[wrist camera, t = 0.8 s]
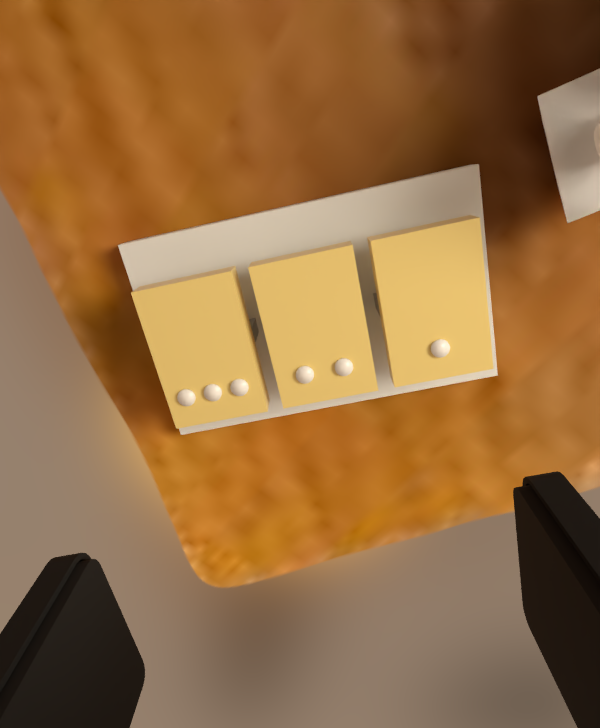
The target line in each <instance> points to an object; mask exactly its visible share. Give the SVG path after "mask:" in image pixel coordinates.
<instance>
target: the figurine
mask: <svg viewBox="0 0 600 728" xmlns="http://www.w3.org/2000/svg"><path fill="white" fill-rule="evenodd" d="M537 98H538V103H539V108H540V113H541V118H542V123H543V127H544V131H545V135H546V139H547V143H548V148H549V152H550V156H551V160H552V164H553V168H554V173H555V177H556V181H557V185H558V189H559V193H560V197H561V200H562V204H563V208H564V212H565V216H566V219H567V223H570V222H572V221H574V220H577V219H579V218H582V217H584V216H587V215H589V214H592V213H594V212H597V211H599V210H600V69H597V70H595V71H593V72H591V73H588V74H586V75H584V76H582V77H579V78H577V79H575V80H573V81H570V82H568V83H566V84H564V85H561V86H559V87H557V88H555V89H552V90H550V91H548V92H546V93H543V94H541V95H539V96H537Z"/></svg>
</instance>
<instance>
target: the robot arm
mask: <svg viewBox="0 0 600 728" xmlns="http://www.w3.org/2000/svg"><path fill="white" fill-rule="evenodd" d="M513 496H514V508H515V519H516V531H517V541H518V553H519V566H520V577H521V589H522V601H523V609H524V613H525V616H526V620H527V623H528V625H529V628H530V630H531V632H532V634H533V636H534V638H535V640H536V642H537V644H538V646H539V649H540V650H541V652H542V655H543V657H544V659H545V661H546V663H547V665H548V667H549V669H550V671H551V673H552V676H553V677H554V680H555V682H556V684H557V686H558V688H559V690H560V692H561V694H562V696H563V698H564V700H565V703H566V705H567V706H568V709H569V711H570V713H571V715H572V717H573V719H574V721H575V723H576V725H577V727H578V728H600V518H598V516H597V515H596V514H595V512H594V511H593V510H592V509H591V508H590V506H589V505H588V504H587V503H586V502H585V500H584V499H583V498H582V497H581V496H580V494H579V493H578V492H577V491H576V490H575V488H574V487H573V486H572V485H571V484H570V482H569V481H568V480H567V479H566V478H565V477H564V475H563V474H561V473H560V472H552V473H546V474H540V475H534V476H528V477H525V478H524V479H523V486H522V487H516V488H514V491H513ZM144 678H145V668H144V663H143V660H142V658H141V655H140V653H139V651H138V648H137V646H136V644H135V642H134V639H133V637H132V635H131V633H130V630H129V628H128V626H127V624H126V622H125V619H124V617H123V615H122V612H121V610H120V608H119V606H118V603H117V601H116V599H115V597H114V594H113V592H112V590H111V588H110V586H109V583H108V581H107V579H106V576H105V574H104V572H103V569H102V568H101V565H100V563H99V562H98V561H97V560H96V559H91V558H90V556H89V555H87V554H86V553H78V554H72V555H66V556H61V557H55V558H53V559H51V560H50V561H49V562H48V563H47V565H46V566H45V568H44V569H43V571H42V572H41V574H40V575H39V577H38V578H37V580H36V581H35V583H34V584H33V586H32V587H31V589H30V590H29V592H28V593H27V595H26V596H25V598H24V599H23V601H22V602H21V604H20V605H19V607H18V608H17V610H16V611H15V613H14V614H13V616H12V617H11V619H10V620H9V622H8V623H7V625H6V626H5V628H4V629H3V631H2V632H1V634H0V728H129V727H130V724H131V721H132V718H133V715H134V712H135V709H136V706H137V703H138V699H139V697H140V693H141V690H142V687H143V684H144Z"/></svg>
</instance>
